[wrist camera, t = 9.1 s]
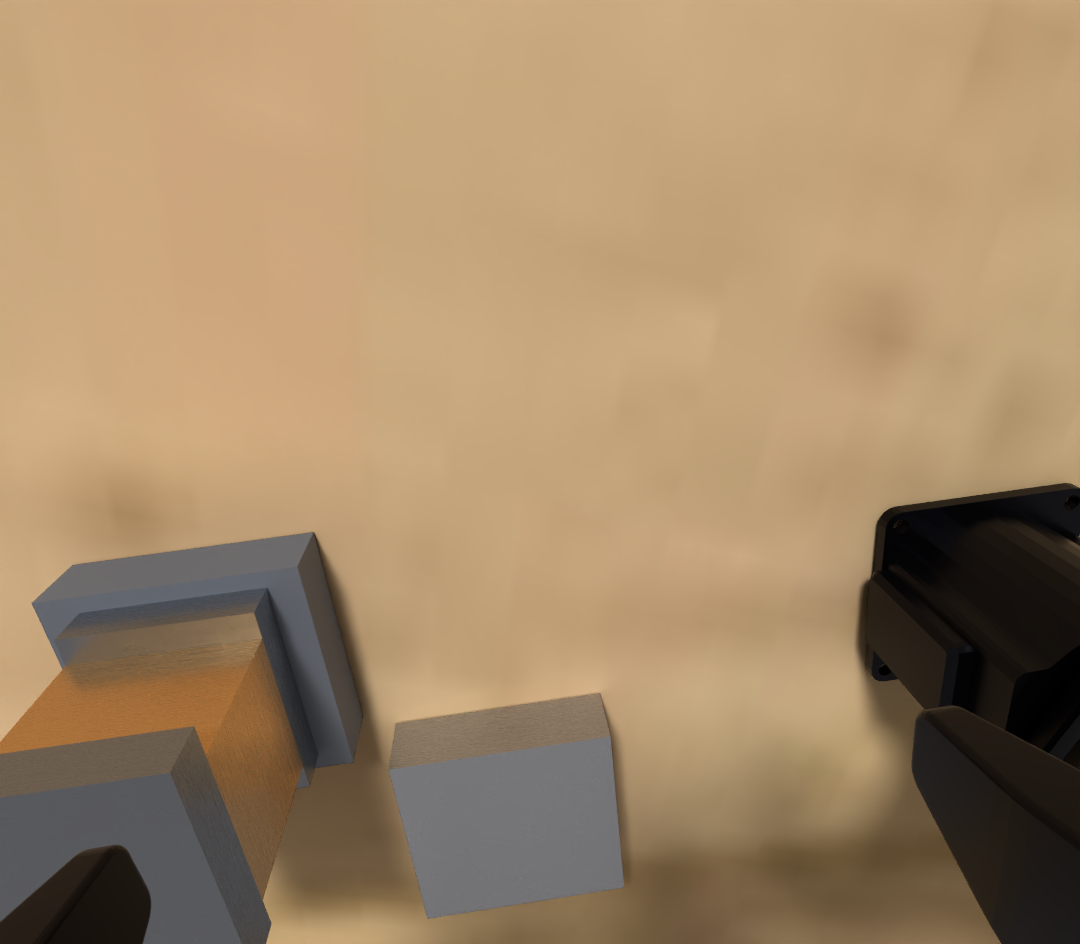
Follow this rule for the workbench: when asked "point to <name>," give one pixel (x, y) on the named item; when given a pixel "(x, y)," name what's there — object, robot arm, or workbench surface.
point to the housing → (163, 761)
